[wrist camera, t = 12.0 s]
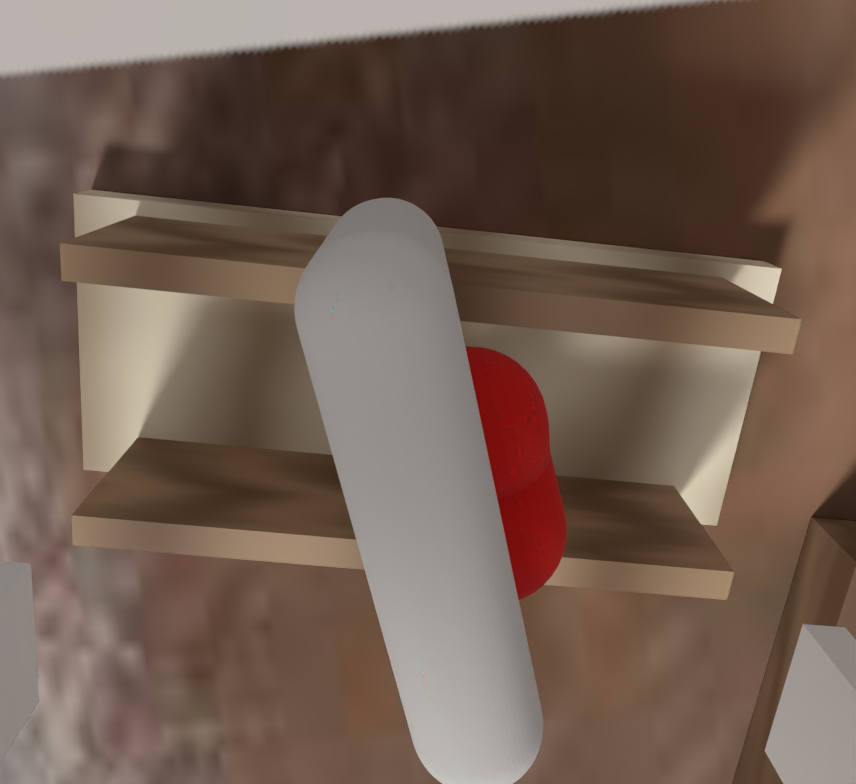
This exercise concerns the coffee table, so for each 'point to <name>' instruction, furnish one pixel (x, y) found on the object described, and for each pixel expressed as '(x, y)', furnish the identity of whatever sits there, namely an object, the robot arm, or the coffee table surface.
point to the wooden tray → (806, 604)
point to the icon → (435, 485)
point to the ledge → (482, 327)
